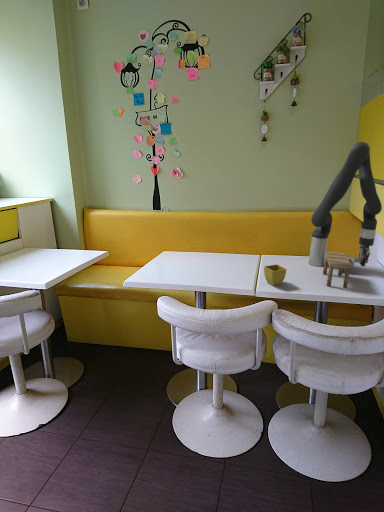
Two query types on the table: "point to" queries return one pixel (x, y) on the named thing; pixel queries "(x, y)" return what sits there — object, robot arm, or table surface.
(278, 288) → the table surface
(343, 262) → the slatted wooden stool
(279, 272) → the flower pot
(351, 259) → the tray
